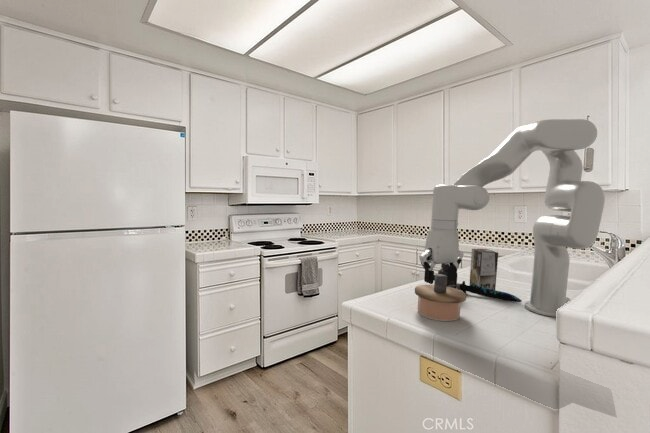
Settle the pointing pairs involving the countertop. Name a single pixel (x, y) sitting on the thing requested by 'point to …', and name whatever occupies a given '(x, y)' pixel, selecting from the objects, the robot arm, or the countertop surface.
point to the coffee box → (483, 268)
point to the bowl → (438, 310)
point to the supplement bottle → (444, 272)
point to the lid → (440, 291)
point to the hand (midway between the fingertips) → (440, 281)
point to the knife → (486, 292)
